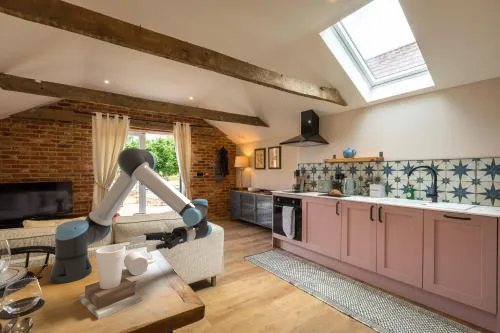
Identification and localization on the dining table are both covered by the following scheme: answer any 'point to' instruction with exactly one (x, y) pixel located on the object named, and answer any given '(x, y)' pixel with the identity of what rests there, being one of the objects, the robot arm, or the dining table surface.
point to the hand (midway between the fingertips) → (138, 245)
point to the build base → (111, 307)
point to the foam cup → (110, 265)
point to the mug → (137, 263)
